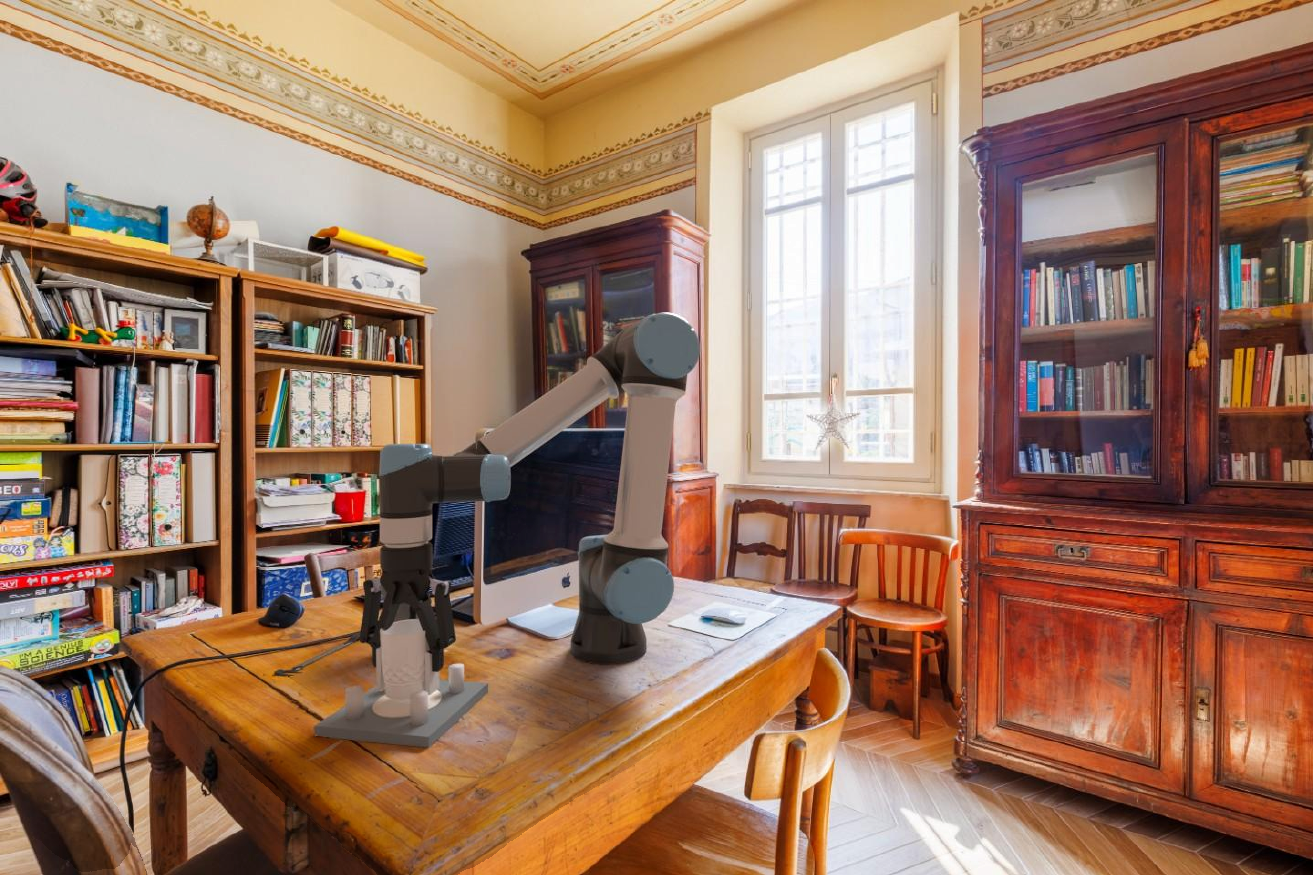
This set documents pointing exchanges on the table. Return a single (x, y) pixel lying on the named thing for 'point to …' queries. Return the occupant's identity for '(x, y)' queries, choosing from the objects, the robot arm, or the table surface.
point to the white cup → (403, 658)
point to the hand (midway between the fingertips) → (408, 689)
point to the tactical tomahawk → (317, 657)
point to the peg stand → (403, 713)
